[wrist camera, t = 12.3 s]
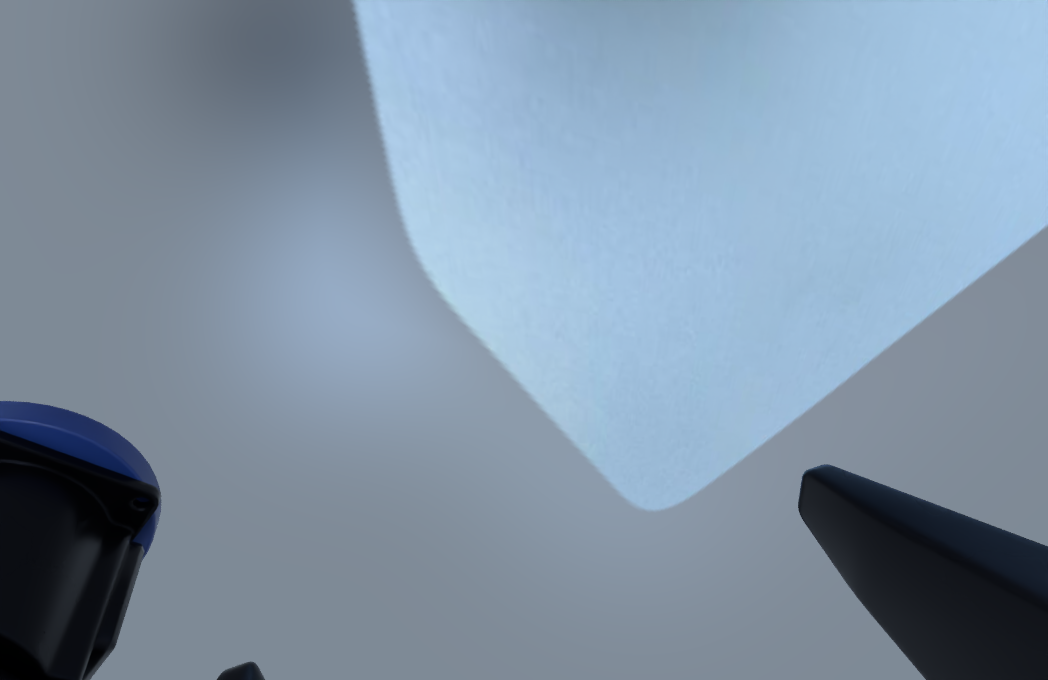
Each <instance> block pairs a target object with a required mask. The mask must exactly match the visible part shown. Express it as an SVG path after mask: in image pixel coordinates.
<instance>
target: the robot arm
mask: <svg viewBox="0 0 1048 680" xmlns="http://www.w3.org/2000/svg"><path fill="white" fill-rule="evenodd" d="M141 497H142V498H146V499H148V500H149V501H147V502H141V501H139V500H137V499H136V498H141ZM160 499H161V492H160V491H159V489H158V488H157V487H155V486H153V485H151V484H148V483H145V482H142V481H140V480H137V479H134V478H131V477H128V476H126V475H123V474H120V473H117V472H115V471H112V470H109V469H106V468H104V467H101V466H98V465H95V464H93V463H90V462H87V461H84V460H82V459H79V458H76V457H73V456H70V455H68V454H65V453H62V452H59V451H57V450H54V449H51V448H48V447H46V446H43V445H40V444H37V443H35V442H32V441H29V440H26V439H23V438H21V437H18V436H15V435H12V434H10V433H7V432H4V431H1V430H0V680H90V679H91V677H92V676H93V675H94V674H95V672H96V671H97V670H98V668H99V667H100V666H101V665H102V663H103V662H104V661H105V660H106V658H107V657H108V656H109V655H110V653H111V652H112V651H113V649H114V648H115V645H116V643H117V639H118V636H119V633H120V629H121V627H122V623H123V620H124V617H125V613H126V610H127V607H128V604H129V600H130V597H131V594H132V591H133V588H134V584H135V581H136V578H137V575H138V572H139V568H140V565H141V562H142V559H143V555H144V549H143V546H142V544H140V543H137V542H134V541H133V540H134V538H135V537H136V536H137V535H138V533H139V532H140V531H141V529H142V528H143V527H144V525H145V524H146V523H147V521H148V520H149V519H150V517H151V516H152V515H153V513H154V512H155V511H156V509H157V507H158V505H159V502H160ZM798 508H799V512H800V515H801V517H802V519H803V521H804V522H805V524H806V525H807V527H808V528H809V529H810V531H811V532H812V534H813V535H814V537H815V538H816V540H817V541H818V543H819V544H820V545H821V547H822V548H823V549H824V551H825V553H826V554H827V555H828V557H829V558H830V560H831V561H832V563H833V564H834V566H835V567H836V568H837V570H838V571H839V573H840V574H841V576H842V577H843V579H844V580H845V581H846V583H847V584H848V585H849V587H850V588H851V590H852V591H853V592H854V594H855V595H856V596H857V598H858V599H859V600H860V601H861V602H862V604H863V605H864V606H865V608H866V609H867V610H868V611H869V612H870V614H871V615H872V616H873V617H874V618H875V620H876V621H877V622H878V623H879V624H880V625H881V627H882V628H883V629H884V630H885V632H886V633H887V634H888V635H889V636H890V637H891V639H892V640H893V641H894V642H895V643H896V644H897V646H898V647H899V648H900V649H901V651H902V652H903V653H904V654H905V655H906V656H907V658H908V659H909V660H910V661H911V662H912V664H913V665H914V666H915V667H916V668H917V670H918V671H919V672H920V673H921V674H922V676H923V677H924V678H925V679H926V680H1048V546H1045V545H1042V544H1040V543H1037V542H1034V541H1032V540H1029V539H1026V538H1024V537H1021V536H1018V535H1016V534H1013V533H1010V532H1008V531H1005V530H1002V529H1000V528H997V527H994V526H991V525H989V524H986V523H984V522H981V521H978V520H976V519H973V518H971V517H968V516H965V515H963V514H960V513H957V512H955V511H952V510H949V509H946V508H944V507H941V506H939V505H935V504H933V503H931V502H928V501H925V500H923V499H920V498H917V497H914V496H912V495H909V494H907V493H904V492H901V491H898V490H896V489H893V488H890V487H888V486H885V485H883V484H879V483H877V482H874V481H872V480H869V479H866V478H864V477H861V476H859V475H856V474H853V473H851V472H848V471H845V470H842V469H840V468H837V467H835V466H831V465H820V466H817V467H814V468H812V469H809V470H807V471H805V472H804V474H803V476H802V482H801V488H800V496H799V502H798ZM217 680H265V679H264V677H263V675H262V673H261V671H260V669H259V668H258V666H257V665H256V664H255V663H254V662H247V663H244V664H241V665H238V666H235V667H232V668H229V669H227V670H225V671H224V672H222V673H221V675H220V676H219V677H218V679H217Z"/></svg>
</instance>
